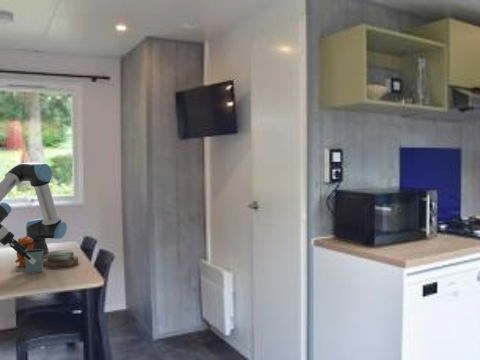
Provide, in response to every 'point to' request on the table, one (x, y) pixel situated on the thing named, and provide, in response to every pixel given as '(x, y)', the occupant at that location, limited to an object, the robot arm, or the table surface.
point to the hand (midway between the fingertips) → (34, 260)
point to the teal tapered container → (37, 266)
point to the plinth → (60, 264)
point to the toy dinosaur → (25, 242)
